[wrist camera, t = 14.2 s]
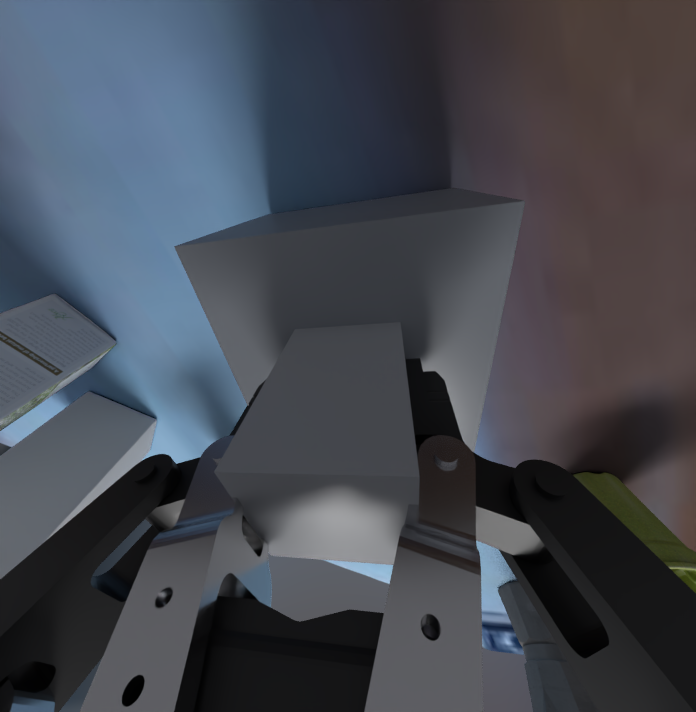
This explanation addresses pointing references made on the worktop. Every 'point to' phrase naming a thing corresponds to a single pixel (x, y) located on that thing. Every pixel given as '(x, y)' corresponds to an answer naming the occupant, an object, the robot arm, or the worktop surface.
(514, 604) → the coffeepot
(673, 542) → the plant pot
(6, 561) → the milk carton
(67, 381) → the syrup box
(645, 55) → the worktop surface
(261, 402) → the cover
